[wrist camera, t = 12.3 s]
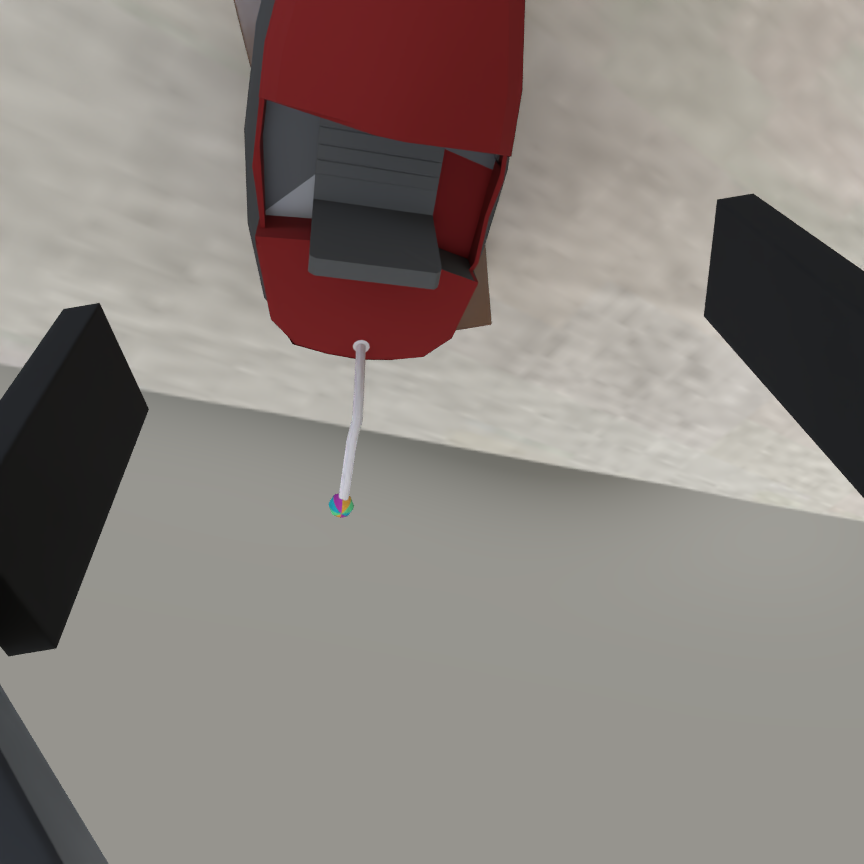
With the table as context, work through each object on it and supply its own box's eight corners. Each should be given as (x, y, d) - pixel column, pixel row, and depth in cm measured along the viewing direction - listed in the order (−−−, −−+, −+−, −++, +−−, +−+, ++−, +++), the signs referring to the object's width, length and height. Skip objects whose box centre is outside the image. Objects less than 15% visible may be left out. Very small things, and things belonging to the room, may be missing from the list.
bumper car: (563, -123, 23) (685, -138, 15) (448, 386, 35) (483, 530, 27) (256, -198, 21) (210, -262, 13) (241, 367, 33) (211, 516, 25)
